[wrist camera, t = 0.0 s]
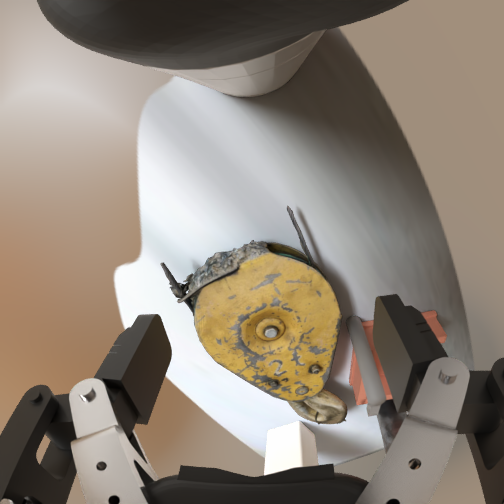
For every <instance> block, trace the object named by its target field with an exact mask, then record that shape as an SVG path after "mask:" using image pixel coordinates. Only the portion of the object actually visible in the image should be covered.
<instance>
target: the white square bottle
mask: <svg viewBox="0 0 504 504" xmlns="http://www.w3.org/2000/svg"><path fill="white" fill-rule="evenodd" d="M317 465H319V464H318V456H317V448H316V441H315V434H314V433H312V432H311V431H310V430H309V429H308V428H307V427H306V426H305V425H304V424H303V423H302V422H300V421H297V422H294V423H291V424H287V425H284V426H281V427H277V428H274V429H270V430H268V435H267V447H266V458H265V470H264V475H268V474H272V473H276V472H280V471H284V470H287V469H291V468H294V467H307V466H317Z"/></svg>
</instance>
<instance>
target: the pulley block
mask: <svg viewBox="0 0 504 504" xmlns="http://www.w3.org/2000/svg"><path fill="white" fill-rule="evenodd" d="M287 211H288V213H289V215H290V218H291V220H292V222H293V225H294V226H295V228H296V230H297V232H298V236H299V239H300V243H301V246H302V248H303V250H304V252H305V254H306V255H304V254H303V253H301V252H300V251H298V250H295V249H293V248H291V247H289V246H285V245H282V244H278V243H267V242H263V241H261V242H254V240H252V241H251V243H250V244H244V246H243V247H241V248H240V249H235V248H234V249H233V251H229V252H218V253H215V254H214V256H213V257H210V258H208V259H207V261H206V263H205V265H204V266H202V267H200V268H199V269H198V270H197V271H196V272H195V274H194V275H193V274H190V275H189V276H187V279H186V280H185V281H183V282H188V283H186V284H185V285H184V284H181V283H177V281H176V280H175V278H174V277H173V275H172V274H171V272H170V271H169V270H168V268H167V267H166V265H165V264H164V263H161V266H162V268H163V270H164V272H165V275H166V277H167V278H168V279H169V281H170V283H169V284H170V285H172V287H170V288H171V290H172V292H173V294H174V295H175V296H176V297H177V298H181V299H178V301H177V302H178V303H181V302H183V301H184V302H185V303H186V304H187V305H188V307H189V308H190V310H191V311H192V313H193V316H194V325H195V328H196V331H197V334H198V337H199V340H200V342H201V343H202V345H203V347H204V348H205V350H206V351H207V352H208V354H209V355H210V356H211V357H212V358H213V359H214V360H215V361H216V362H217V363H218V364H220V365H221V366H223V367H224V368H226V369H228V370H229V371H231V372H232V373H234V374H235V375H237V376H239V377H240V378H242V379H243V380H245V381H247V382H248V383H250V384H252V385H253V386H255V387H257V388H259V389H260V390H262V391H264V392H266V393H267V394H269V395H271V396H273V397H276V398H279V399H282V400H285V401H288V403H289V404H290V406H291V407H292V408H293V409H294V410H295V412H296V413H297V414H298V415H299V416H301V417H303V418H305V419H307V420H310V421H313V422H316V423H318V424H336V423H337V424H338V423H339V424H340V423H341V422H343V421H346V420H345V418H346V415H347V406H346V404H345V403H344V402H343V401H342V400H341V399H340V398H339V397H338V396H336V395H334V394H333V393H331V392H329V391H327V390H325V389H324V388H323V387H324V385H325V383H326V381H327V380H328V378H329V376H330V372H331V368H332V363H333V359H334V354H335V350H336V345H337V340H338V335H339V331H340V326H341V321H342V314H341V313H340V306H339V305H338V301H337V298H336V295H335V292H334V291H333V289H332V287H331V285H330V284H329V282H328V280H327V278H326V276H325V275H324V273H323V272H322V270H321V269H320V268H319V267H318V266H317V265H316V264H315V263H314V262H313V260H312V257H311V255H310V252H309V250H308V248H307V245H306V243H305V240H304V238H303V235H302V233H301V230H300V228H299V226H298V224H297V222H296V220H295V217H294V214H293V211H292V210H291V209H290V208H289V206H288V205H287ZM180 284H181V285H182V286H181V285H180ZM187 290H189V291H188V293H187V294H186V291H187Z"/></svg>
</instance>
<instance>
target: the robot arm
mask: <svg viewBox="0 0 504 504" xmlns="http://www.w3.org/2000/svg"><path fill="white" fill-rule="evenodd" d="M407 1H408V0H37V2H38V4H39V7H40V9H41V11H42V13H43V14H44V16H45V17H46V19H47V20H48V21H49V22H50V23H51V24H52V25H53V27H54V28H56V29H57V30H58V31H59V32H60V33H62V34H63V35H64V36H65V37H67V38H68V39H70V40H72V41H73V42H75V43H77V44H79V45H81V46H83V47H85V48H87V49H90V50H92V51H95V52H98V53H101V54H104V55H107V56H110V57H113V58H117V59H121V60H125V61H128V62H132V63H136V64H140V65H143V66H146V67H149V68H153V69H156V70H159V71H162V72H166V73H168V74H172V75H175V76H178V77H181V78H184V79H187V80H190V81H193V82H195V83H198V84H201V85H204V86H206V87H209V88H212V89H214V90H217V91H220V92H222V93H223V94H227V95H231V96H238V97H255V96H260V95H264V94H267V93H270V92H272V91H274V90H277V89H278V88H280V87H281V86H283V85H284V84H285V83H287V82H288V81H289V80H290V79H291V78H292V76H293V75H294V74H295V73H296V71H297V70H298V69H299V67H300V66H301V65H302V63H303V62H304V60H305V59H306V57H307V56H308V55H309V53H310V52H311V50H312V49H313V47H314V46H315V45H316V43H317V42H318V40H319V39H320V38H321V36H322V35H323V34H324V32H325V31H326V29H331V28H335V27H339V26H343V25H346V24H351V23H354V22H357V21H361V20H364V19H367V18H370V17H373V16H375V15H378V14H380V13H383V12H385V11H388V10H390V9H393V8H395V7H396V6H398V5H400V4H402V3H404V2H407ZM373 343H374V347H375V350H376V353H377V355H378V358H379V361H380V363H381V366H382V369H383V372H384V375H385V377H386V380H387V383H388V386H389V389H390V392H391V395H392V398H393V401H394V404H395V407H396V410H397V413H402V412H406V411H408V412H409V414H408V415H407V416H406V418H405V419H404V421H403V423H402V425H401V427H400V429H399V431H398V433H397V435H396V437H395V439H394V441H393V443H392V444H391V446H390V448H389V450H388V452H387V453H386V455H385V457H384V459H383V460H382V462H381V464H380V466H379V467H378V469H377V471H376V472H375V474H374V475H373V477H372V479H371V480H370V482H367V481H366V480H363V479H361V478H358V477H355V476H352V475H348V474H342V473H334V466H333V464H326V465H317V466H307V467H294V468H291V469H287V470H284V471H280V472H276V473H272V474H268V475H263V476H259V477H249V476H244V475H241V474H236V473H232V472H229V471H225V470H221V469H217V468H206V467H193V466H182V465H181V466H180V471H179V475H173V476H168V477H165V478H162V479H159V477H158V476H157V475H156V473H155V472H154V470H153V468H152V466H151V464H150V462H149V460H148V458H147V457H146V454H145V452H144V450H143V448H142V446H141V444H140V442H139V440H138V437H137V435H136V433H135V431H134V430H133V429H134V426H135V424H136V423H137V424H145V425H147V424H148V421H149V418H150V416H151V413H152V410H153V407H154V404H155V402H156V399H157V396H158V393H159V391H160V388H161V385H162V383H163V380H164V377H165V375H166V372H167V369H168V367H169V364H170V361H171V357H172V350H171V345H170V342H169V339H168V337H167V334H166V331H165V328H164V325H163V322H162V319H161V317H160V316H159V315H158V314H149V315H139V316H138V317H137V319H136V320H135V322H134V324H133V325H132V327H128V328H127V329H126V330H125V331H124V332H123V333H121V334H120V335H119V337H118V338H117V340H116V341H115V343H114V346H113V347H112V348H111V350H110V351H109V354H108V355H107V356H106V358H105V359H104V361H103V363H102V365H101V366H100V368H99V370H98V371H97V373H96V375H95V376H94V378H90V379H86V380H83V381H81V382H79V383H78V384H76V385H75V386H74V387H73V389H72V390H71V392H70V394H62V395H54V394H53V393H52V391H51V390H50V389H49V387H48V386H46V385H37V386H34V387H33V388H31V389H29V390H28V391H27V392H26V393H25V395H24V396H23V397H22V399H21V401H20V402H19V404H18V405H17V407H16V409H15V411H14V412H13V414H12V416H11V417H10V419H9V421H8V423H7V424H6V426H5V428H4V430H3V431H2V433H1V435H0V504H66V502H67V499H68V496H69V493H70V490H71V487H72V484H73V482H74V479H75V476H76V473H78V477H79V481H80V484H81V487H82V491H83V494H84V497H85V500H86V503H87V504H429V503H430V501H431V499H432V496H433V495H434V492H435V490H436V488H437V486H438V483H439V481H440V479H441V477H442V474H443V472H444V469H445V467H446V464H447V462H448V459H449V457H450V454H451V451H452V449H453V446H454V443H455V440H456V437H457V434H466V437H467V440H468V443H469V446H470V449H471V452H472V455H473V458H474V462H475V465H476V468H477V472H478V475H479V479H480V482H481V486H482V490H483V494H484V498H485V502H486V504H504V358H501V359H499V360H497V361H496V362H495V363H494V365H493V367H492V369H491V371H469V370H468V368H467V367H466V365H465V364H464V363H463V362H461V361H459V360H457V359H455V358H450V357H448V355H447V354H446V352H445V350H444V349H443V347H442V345H441V344H440V342H439V340H438V339H437V337H436V335H435V334H434V332H433V331H432V329H431V327H430V326H429V324H427V321H426V319H425V318H424V316H423V315H422V313H421V312H420V311H418V310H417V309H415V308H414V307H412V306H404V304H403V302H402V301H401V299H400V298H399V296H398V295H397V294H393V295H386V296H378V297H377V298H376V302H375V312H374V322H373ZM44 435H46V436H47V437H48V438H49V439H50V440H51V441H50V443H49V446H48V448H47V450H46V452H45V454H44V457H43V459H42V461H41V464H39V463H38V461H37V459H36V452H37V450H38V447H39V445H40V443H41V441H42V439H43V437H44Z"/></svg>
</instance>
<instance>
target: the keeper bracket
mask: <svg viewBox="0 0 504 504" xmlns="http://www.w3.org/2000/svg"><path fill="white" fill-rule="evenodd" d="M422 315H423V316H424V318H425V319H426V321H427V324H429V326H430V327H431V329H432V331H433V332H434V334H435V335H436V337H437V339H438V340H439V342H440V343H444V342H445V340H446V337H447V335H446V333H445V332H444V330H443V328H442V327H441V325H440V324H439V322H438V320H437V319H436V317H437V313H436V312H435V310H433V311H428V312H422ZM373 322H374V320H372V321H365V322H361V320H360V318H359V317H358V316H351V317H350V318H348V319H347V322H346V324H347V327H348V331H349V334H350V338H351V341H352V345H353V351H352V361H351V369H350V378H349V383H350V386H351V385H352V386H353V390H354V395H355V399H356V404H357V405H361V404H367V403H368V405H367V413H368V416H374V415H378V413H379V409H380V406H381V404H383V403H384V402H385V401H386V400H389V399H393V398H392V395H391V392H390V389H389V386H388V383H387V380H386V377H385V375H384V372H383V369H382V366H381V363H380V361H379V358H378V355H377V353H376V350H375V347H374V343H373Z"/></svg>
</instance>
